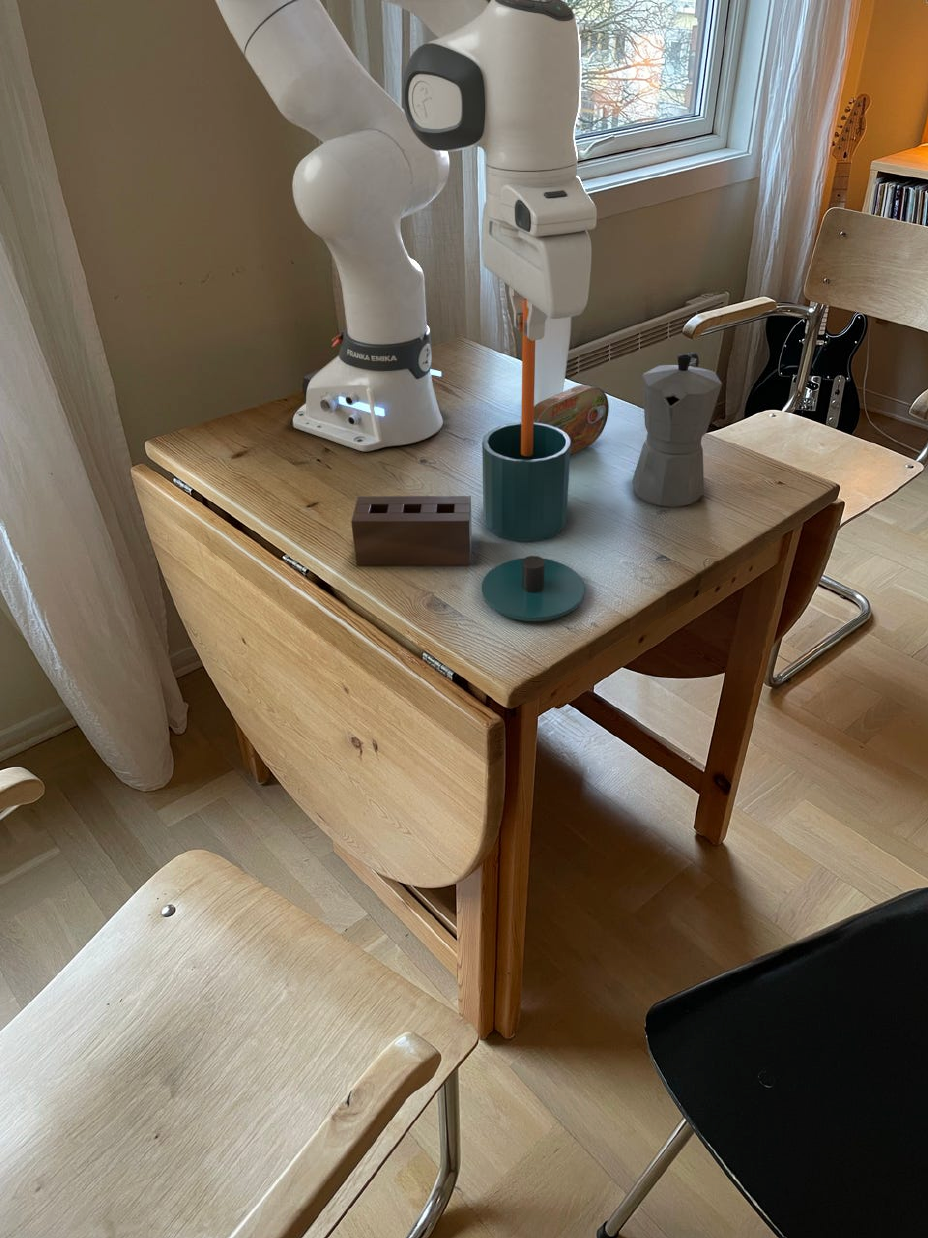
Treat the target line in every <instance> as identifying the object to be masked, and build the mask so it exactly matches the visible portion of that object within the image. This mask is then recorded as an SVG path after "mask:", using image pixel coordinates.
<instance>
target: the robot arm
mask: <svg viewBox="0 0 928 1238" xmlns="http://www.w3.org/2000/svg"><path fill="white" fill-rule="evenodd" d="M214 1H215V3H216V6H217V8H218V10H219V12H220V14H221V16H222V18H223V20H224V22H225V24H226V26H227V28H228V30H229V32H230V34H231V36H232V37H233V39H234V41H235V43H236V44H237V46H238V48H239V50H240V51H241V53H242V54H243V56H244V57H245V59H246V61H247V62H248V63H249V65H250V67H251V68H252V71H254V73H255V75H256V76H257V78H258V80H259V81H260V83H261V84H262V86H263V87H264V89H265V91H266V92H267V94H268V96H269V97H270V98H271V100H272V101H273V103H274V104H275V106H276V107H277V109H278V111H279V112H280V113H281V115H282V116H283V117H284V118H285V119H286V120H287V121H288V122H290V123H291V124H293V125H295V126H297V127H298V128H301V129H303V130H305V131H307V132H308V133H310V134H311V135H312V136H314V137H316V138H317V139H318V140H319V141H320V142H321V144H320V145H319V146H317V147H316V148H315V149H313V150H311V152H310V153H309V154H307V155H306V156H305V157H303V158H302V159H301V160H300V161H299V162H298V164H297V166H296V168H295V170H294V173H293V177H292V185H291V186H292V190H291V191H292V197H293V202H294V205H295V207H296V208H295V209H296V211H297V213H298V215H299V216H300V218H301V220H302V221H303V223H304V224H305V226H306V227H307V228H309V230H310V231H312V232H313V233H314V234H315V235H316V236H318V237H320V238H321V239H322V240H323V242H324V243H325V245H326V246H327V248H328V250H329V252H330V254H331V256H332V259H333V261H334V263H335V266H336V268H337V271H338V276H339V281H340V284H341V292H342V299H343V307H344V313H345V323H346V328H345V329H343V330H341V331H340V332H339V335H336V336H335V337H333V338H332V339H331V342H333V344H332V345H331V347H332V348H335V347H337V346H338V345H340V349H339V352H338V355H337V356H336V357H334V358H333V359H332V360H331V361H329V362H328V363H327V364H326V365H325V366H322V367H321V368H319V369H317V370H315V371H313V372H311V373H309V374H308V375H305V376H303V377H302V384H301V385H302V393H303V396H304V397H305V403H304V404H303V405H302V406H301V407H299V408H298V409H297V411H296V412H295V413H294V414H293V417H292V427H293V428H294V429H296V430H300V431H303V432H305V433H308V434H311V435H314V436H317V437H319V438H322V439H325V440H328V441H331V442H334V443H336V444H340V445H342V446H345V447H348V448H351V449H354V450H357V451H361V452H371V451H375V450H379V449H382V448H386V447H387V448H388V447H394V446H396V447H397V446H403V445H404V446H405V445H409V444H414V443H417V442H421V441H423V440H426V439H428V438H430V437H432V436H434V435H435V434H436V433H438V432H439V431H440V430H441V428H442V426H443V423H444V420H443V417H442V414H441V412H440V409H439V405H438V402H437V398H436V393H435V389H434V382H433V379H432V378H433V377H432V376H437V377H442V371H439V370H435V369H432V364H433V363H432V361H433V360H432V357H433V356H432V355H433V354H432V340H431V328H430V327H429V326H428V325H427V323H428V322H427V321H428V320H427V305H426V303H427V302H426V286H425V284H426V283H425V275H424V271H423V269H422V267H421V266H420V264H419V263H417V261H416V260H414V259H413V258H411V257H410V256H409V254H408V252H407V250H406V247H405V243H404V241H403V236H402V232H401V221H402V219H403V218H406V217H408V216H410V215H412V214H415V213H417V212H419V211H421V210H423V209H425V208H426V207H427V206H428V205H429V204H430V203H431V202H432V201H433V200H434V199H435V198H436V197H437V196H438V195H439V194H440V193H441V191H442V190H443V189H444V188H445V185H446V184H447V181H448V178H449V176H450V175H449V173H450V156H449V152H459V151H463V150H468V149H471V148H477V147H479V148H481V149H482V150H483V151H484V153H485V186H486V187H485V198H486V199H485V202H484V205H483V209H482V219H481V221H482V222H481V251H480V252H481V258H482V263H483V266H484V268H485V269H486V270H488V271H489V272H490V273H491V274H493V275H494V276H495V277H497V278H498V279H499V280H501V282H503V283H505V284H506V286H508V295H509V298H510V303H511V307H512V311H513V327H514V328H516V329H517V330H518V331H519V332H521V333H523V299H524V298H525V299H526V300H527V308H528V309H529V312H528V318H527V320H524V335H525V336H526V337H527V338H529V339H530V340H531V341H533V340H539V339H542V338H543V337H544V329H545V321H546V319H547V317H550V318H551V319H560V318H567V317H571V318H573V317H577V316H581V315H582V314H583V312H584V310H585V309H586V307H587V305H588V301H589V295H590V294H589V292H590V285H591V284H590V283H591V282H590V281H591V272H592V271H591V270H592V251H593V250H592V241H591V236H590V234H589V232H588V231H591V230H595V228H596V226H597V222H598V221H597V219H598V210H597V206H596V205H595V203H594V201H593V199H591V197H590V196H589V194H588V193H587V191H586V190H585V187H583V184H582V181H581V178H580V176H578V161H579V160H578V159H579V158H578V150H577V146H576V139H575V138H576V137H575V133H576V125H577V121H578V118H579V114H580V109H581V92H582V91H581V90H582V89H581V87H582V86H581V85H582V60H581V58H582V57H581V53H582V52H581V40H580V39H581V38H580V32H579V27H578V21H577V19H576V14H575V12H574V11H573V9H572V7H570V6H569V5H568V4H567V3H566V2H565V1H563V0H382V1H383V2H386V3H389V4H391V5H394V6H397V7H399V8H402V9H404V10H405V11H407V12H409V13H410V14H412V15H413V16H415V17H416V18H417V19H418V20H419V21H420V22H421V23H422V24H423V25H424V26H425V27H426V29H428V30H429V31H430V32H431V33H432V34H433V35H434V36H435V37H436V39H432V40H431V41H428V42H426V43H424V44H421V45H419V46H418V47H417V48H416V49H415V50H414V51H413V53H412V54H411V55H410V57H409V59H408V60H407V61H408V62H407V63H406V66H405V69H404V72H403V73H404V74H403V77H402V84H401V99H402V105H403V106H401V105H399V104H398V103H397V101H396V100H394V99H393V98H392V97H391V96H390V95H389V94H388V92H387V91H386V90H385V89H384V88H383V87H382V86H380V84H379V83H378V82H377V81H376V80H375V79H374V77H372V76H371V74H370V73H368V71H367V70H366V69H365V68H364V67H363V66H362V63H360V61H359V60H358V59H357V57H356V56H355V55H354V53H353V51H352V50H351V48H350V47H349V45H348V44H347V42H346V41H345V39H344V37H343V35H342V34H341V33H340V30H339V29H338V28H337V27H336V25H335V23H334V21H333V20H332V18H331V17H330V15H329V13H328V11H327V10H326V8H325V7H324V5H323V4H322V2H321V0H214Z"/></svg>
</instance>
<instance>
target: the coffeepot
mask: <svg viewBox="0 0 928 1238" xmlns="http://www.w3.org/2000/svg"><path fill="white" fill-rule="evenodd" d="M698 355H699V354H697V353H695V352H690V353H680V354H678V355H677V364H663V365H662V364H660V365H658V366H655V367H654V368H652V369H650V370H648V371H646V372H644V373H642V375H641V376H642V393H643V396H642V397H643V417H644V427H645V430H646V432H647V433H646V438H645V440H644V441H643V444H642V447H641V450H640V453H639V457H638V460H637V464H636V468H635V470H634V474H633V477H632V481H631V484H632V487H633V491H634V494H635V495H636V497H638V498H639V499H640V500H642V501H644V502H646V503H648V504H651V505H654V506H658V507H665V508H678V507H679V508H680V507H685V506H689V505H692V504H694V503H696V502H697V501H698V500H699V499H700V498H701V497H702V496H703V495H704V494H705V477H704V475H705V474H704V450H703V446H702V438H703V437H704V436H705V435H706V434H707V433H708V430H709V426H710V422H711V420H712V417H713V415H714V411H715V408H716V404H717V401H718V398H719V395H720V392H721V388H722V386H723V383H722V381H721V379H720V378H719V377H718V375H717V374H716V372H715V371H713V370H709V369H707V368H706V369H705V368H703V367H699V363H700V361H699V356H698Z"/></svg>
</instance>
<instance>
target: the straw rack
mask: <svg viewBox="0 0 928 1238" xmlns="http://www.w3.org/2000/svg"><path fill="white" fill-rule="evenodd" d="M472 527H473V526H472V496H471V495H410V496H409V495H406V496H405V495H403V496H402V495H394V496H392V495H391V496H390V495H387V496H386V495H384V496H383V495H381V496H380V495H379V496H378V495H377V496H375V495H374V496H373V495H372V496H369V495H366V496H365V495H364V496H361V495H360V496H357V499H356V502H355V505H354V509H353V513H352V518H351V532H352V539H353V548H354V549H353V550H354V554H355V555H354V556H355V557H354V558H355V563H356V565H355V566H358V567H359V566H363V567H364V566H366V567H367V566H368V567H369V566H370V567H371V566H374V567H375V566H377V567H378V566H380V567H382V566H383V567H384V566H389V567H390V566H391V567H392V566H397V567H398V566H405V567H409V566H411V567H413V566H415V567H416V566H417V567H418V566H420V567H422V566H423V567H424V566H425V567H426V566H427V567H429V566H430V567H431V566H432V567H433V566H434V567H436V566H437V567H439V566H440V567H441V566H444V567H445V566H447V567H448V566H451V567H454V566H456V567H457V566H459V567H460V566H461V567H462V566H463V567H464V566H465V567H467V566H468V567H469V566H471V561H472V559H471V558H472V545H473V544H472V543H473V533H472V531H473V529H472Z"/></svg>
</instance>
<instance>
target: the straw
mask: <svg viewBox="0 0 928 1238" xmlns="http://www.w3.org/2000/svg"><path fill="white" fill-rule="evenodd" d="M528 312H529V309H528V308H527V300H526V299H525V298H524V299H523V332H522V346H521V347H522V349H521V350H522V351H521V353H522V354H521V416H520V417H521V420H520V421H521V455H523V456H531V455H532V454H533V426H534V382H535V340H533V341H531V340H530V339H529V338H527V337H526V336H525V335H524V320H527V318H528Z"/></svg>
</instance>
